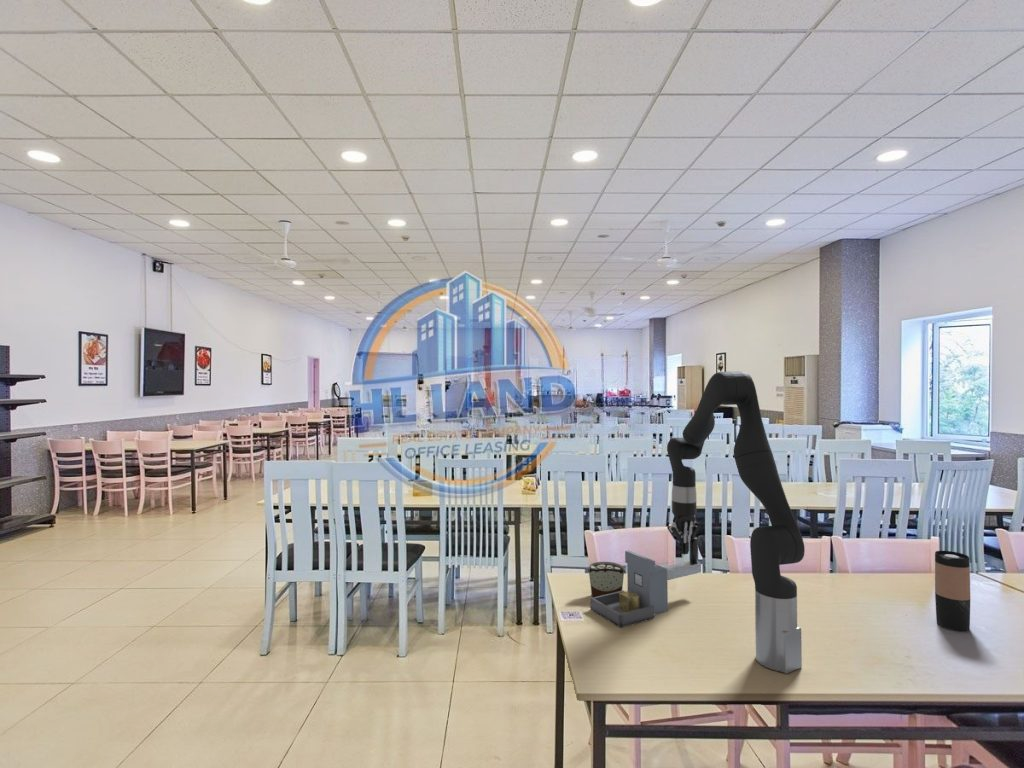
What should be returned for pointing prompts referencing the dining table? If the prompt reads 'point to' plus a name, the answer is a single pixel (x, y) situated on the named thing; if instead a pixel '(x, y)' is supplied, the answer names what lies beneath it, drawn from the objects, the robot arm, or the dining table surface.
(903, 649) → the dining table surface
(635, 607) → the block
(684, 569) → the grey lever black handle
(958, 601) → the travel mug
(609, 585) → the food container
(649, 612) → the tray
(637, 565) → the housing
